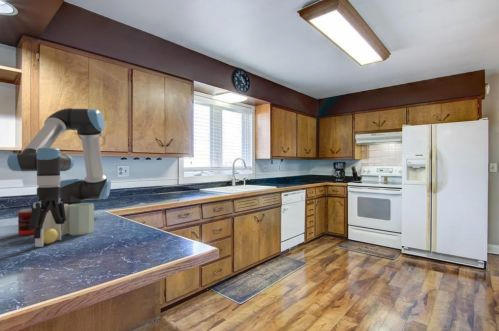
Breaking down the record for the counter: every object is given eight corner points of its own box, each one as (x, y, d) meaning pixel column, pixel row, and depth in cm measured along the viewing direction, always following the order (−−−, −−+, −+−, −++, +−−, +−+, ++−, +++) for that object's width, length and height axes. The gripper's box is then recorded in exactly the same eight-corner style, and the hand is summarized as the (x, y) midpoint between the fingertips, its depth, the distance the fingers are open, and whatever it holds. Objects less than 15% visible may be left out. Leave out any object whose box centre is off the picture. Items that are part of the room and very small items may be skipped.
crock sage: (78, 229, 128) (78, 203, 128) (97, 230, 127) (97, 203, 127) (63, 235, 118) (63, 206, 118) (84, 235, 118) (84, 206, 118)
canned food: (37, 230, 127) (37, 207, 127) (42, 233, 121) (42, 209, 121) (16, 234, 121) (16, 209, 121) (20, 237, 116) (20, 211, 116)
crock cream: (53, 231, 125) (53, 203, 125) (73, 231, 125) (73, 203, 125) (36, 236, 116) (36, 207, 116) (57, 237, 115) (57, 207, 115)
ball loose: (47, 241, 109) (47, 226, 109) (61, 241, 109) (61, 226, 109) (35, 245, 103) (35, 230, 103) (49, 245, 103) (49, 230, 103)
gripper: (59, 184, 117) (59, 235, 117) (15, 188, 96) (15, 251, 96) (76, 184, 116) (76, 236, 116) (35, 188, 95) (35, 251, 95)
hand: (48, 242), depth 106 cm, fingers open, 8 cm apart
